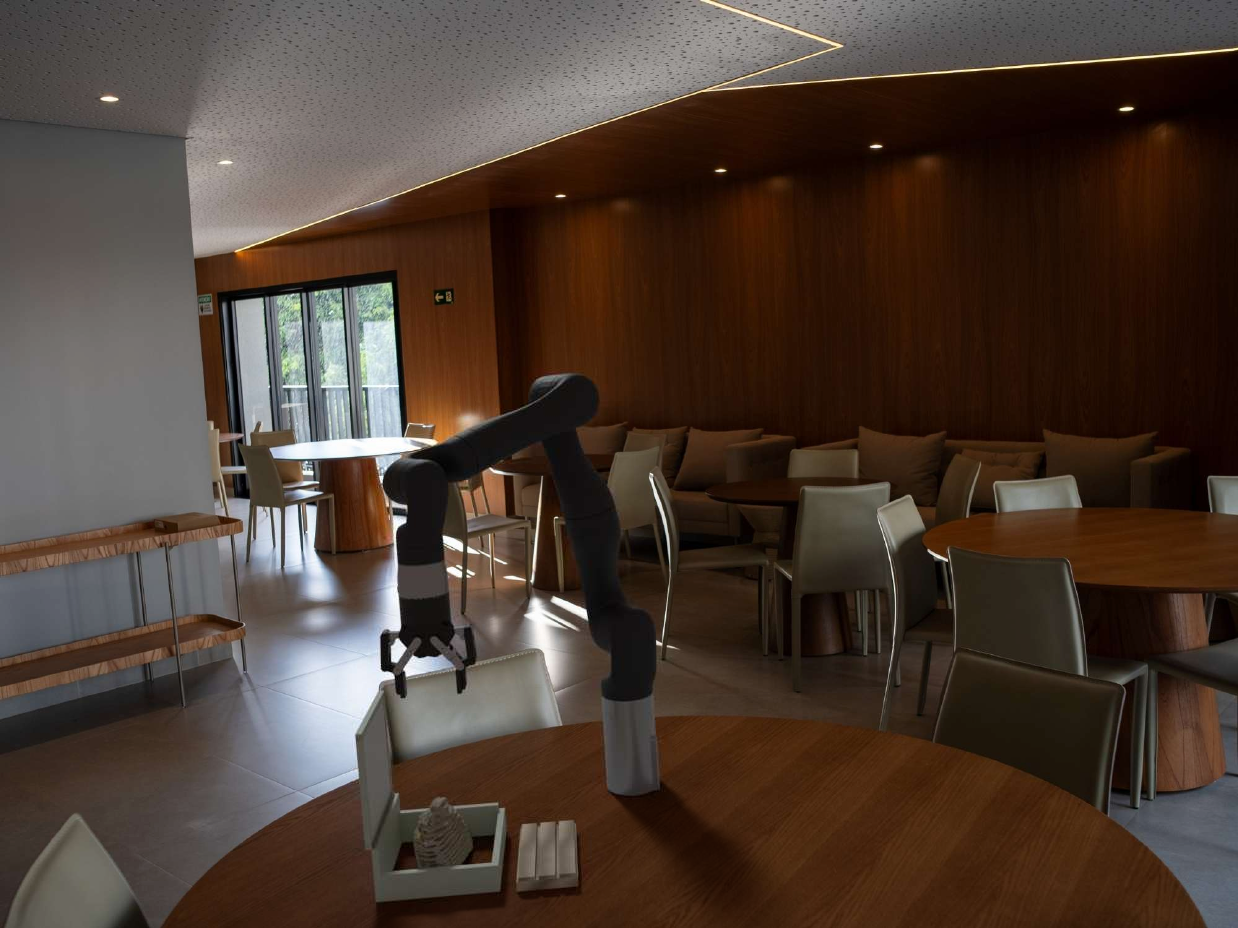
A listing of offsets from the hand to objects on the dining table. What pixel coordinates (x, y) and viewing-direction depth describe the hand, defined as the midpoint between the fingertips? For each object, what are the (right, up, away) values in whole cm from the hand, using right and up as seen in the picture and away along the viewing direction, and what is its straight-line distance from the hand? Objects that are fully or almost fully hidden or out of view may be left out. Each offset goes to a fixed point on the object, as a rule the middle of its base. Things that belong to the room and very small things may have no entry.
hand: (431, 694), depth 153 cm
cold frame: (+2, -27, +3) cm, 27 cm away
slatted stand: (+18, -26, +2) cm, 32 cm away
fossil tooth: (+2, -27, +3) cm, 28 cm away
